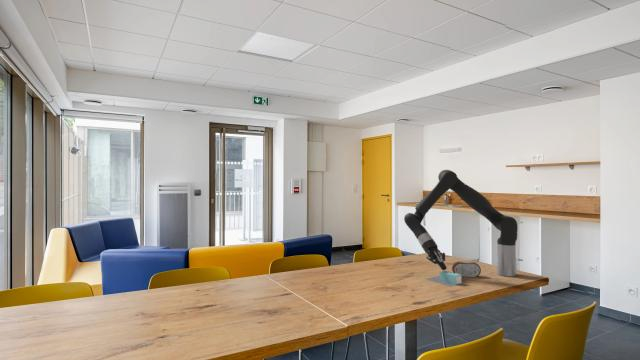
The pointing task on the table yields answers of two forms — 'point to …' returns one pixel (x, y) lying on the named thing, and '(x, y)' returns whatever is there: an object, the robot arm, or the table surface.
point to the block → (450, 277)
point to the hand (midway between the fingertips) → (444, 269)
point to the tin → (466, 269)
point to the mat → (437, 279)
